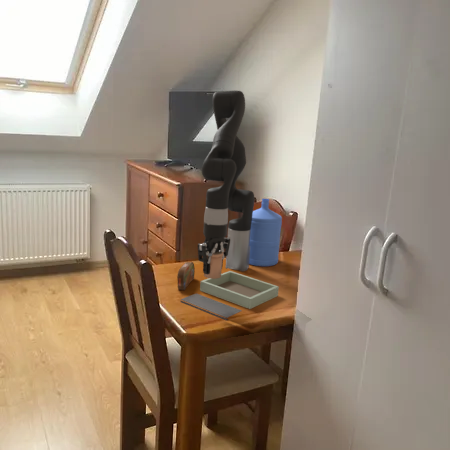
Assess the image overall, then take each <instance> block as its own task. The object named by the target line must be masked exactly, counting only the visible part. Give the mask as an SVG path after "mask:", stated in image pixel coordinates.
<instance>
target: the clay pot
mask: <svg viewBox="0 0 450 450" xmlns="http://www.w3.org/2000/svg"><path fill="white" fill-rule="evenodd" d="M207 253H211V252H208V251H207ZM223 254H224V253H223V252H220V251H219V252H215V253H214V255H213V256H212V257H211V261H210V274H205V273H203V276H204V277H205V278H206V279H208V278H211V279H217V278H220V277H221V274H222V270H223V266H222V256H223ZM206 256H207V259H208V255H206Z"/></svg>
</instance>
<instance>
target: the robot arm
mask: <svg viewBox="0 0 450 450" xmlns="http://www.w3.org/2000/svg"><path fill="white" fill-rule="evenodd" d="M212 109H213V114H214V119H215V126H216V128H217V131H216V132H215V134H214V136H213V141H212V144H211V145H212V146H211V150H210V151H209V152H208V154H207V156H206V157H205V159H204V160H203V163H202V166H201V175H202V177H203V178H204V179H205V180H208V181H216V182H217V181H218V182H223V184H222V185H220V186H216V187H211V188H209V189H207V190H206V196H205V208H204V209H205V210H204V216H203V232H202V233H203V236H204V237H205V238H204V241H203V242H202V243H197V254H198V255H197V256H198V261H199V262H202V273H203V274H204V273H205V274H210V261H211V257H212V256H213V255H214V253H215V252H219V251H220V252H223V253H224V254H223V256H222V267H223V264H224V263H223V262H224V259H225V269H230V270H235V271H239V272H246V271H248V269H249V267H250V264H249V258H250V246H249V245H250V232H251V223H252V214H253V211H254V206H255V194H254V192H253V191H252V190H247V189H240V188H237V186H236V182H237V180H238V178H239V176H240V175H241V174H242V173H243V170H244V169H245V166H246V164H247V156H246V155H247V154H246V147H245V145H244V143H243V142H242V140H241V139H240V137H238V135H237V134H238V132H239V129H240V127H241V123H242V120H243V119H244V115H245V111H246V99H245V94H244V92H243V91H241V90H220V91H215V92H214V93H213V95H212ZM229 211H230V212H236V213H242V215H241V217H238V218H233V219H231V220H229ZM228 221H229V222H228ZM226 236H227V237H226ZM207 251H208V252H211V253H207ZM206 255H208V259H207V256H206Z"/></svg>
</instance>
